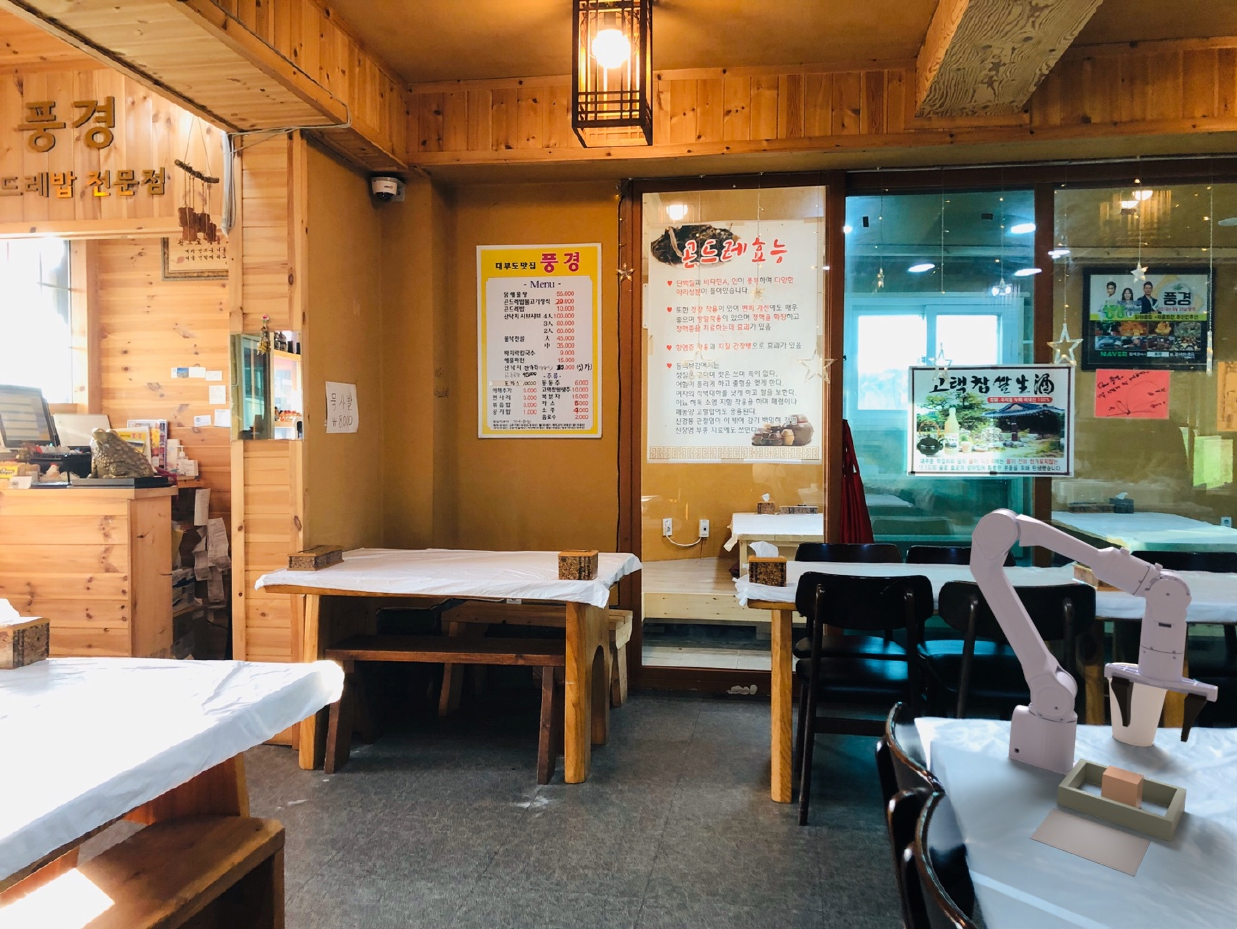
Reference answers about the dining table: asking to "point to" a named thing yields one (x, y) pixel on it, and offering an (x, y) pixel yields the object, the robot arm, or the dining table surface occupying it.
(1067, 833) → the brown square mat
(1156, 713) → the foam cup
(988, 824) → the dining table surface
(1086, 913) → the dining table surface
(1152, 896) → the dining table surface
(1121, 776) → the clay block
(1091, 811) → the olive bin
